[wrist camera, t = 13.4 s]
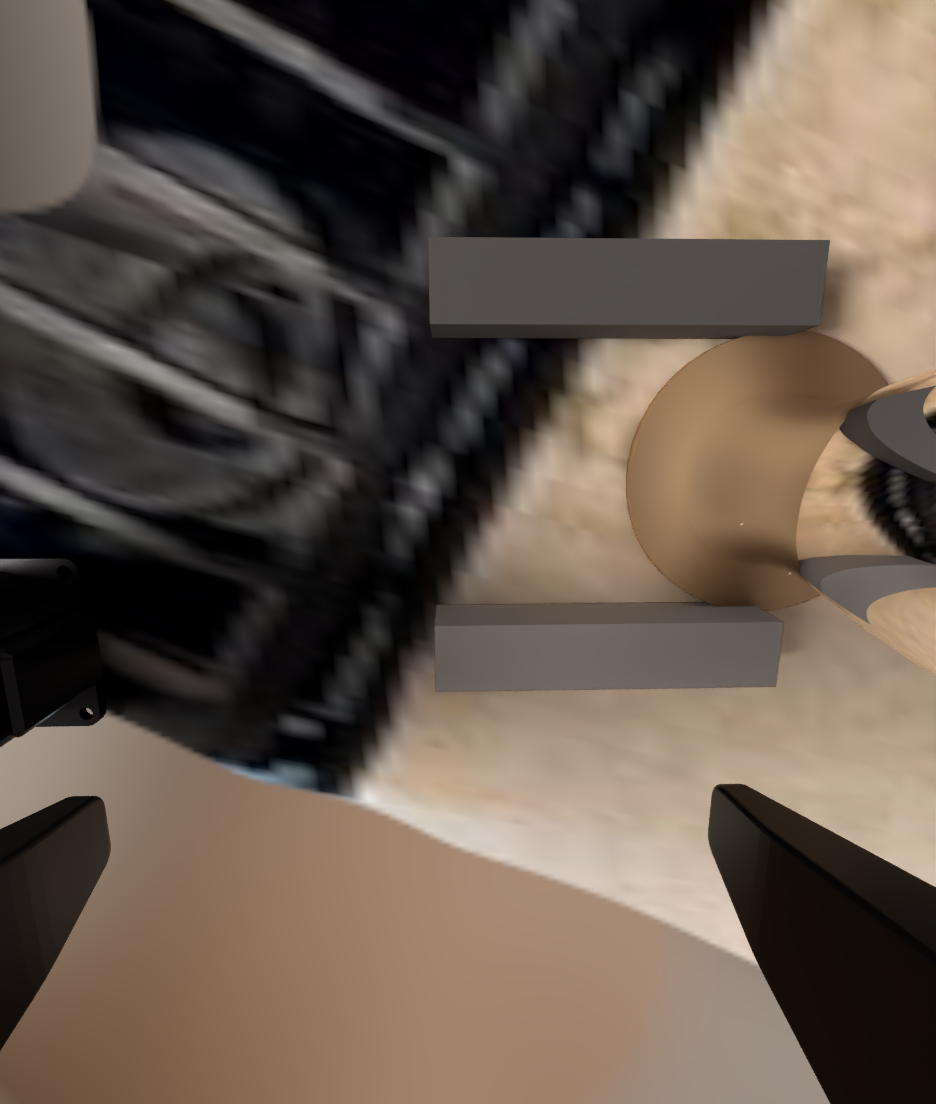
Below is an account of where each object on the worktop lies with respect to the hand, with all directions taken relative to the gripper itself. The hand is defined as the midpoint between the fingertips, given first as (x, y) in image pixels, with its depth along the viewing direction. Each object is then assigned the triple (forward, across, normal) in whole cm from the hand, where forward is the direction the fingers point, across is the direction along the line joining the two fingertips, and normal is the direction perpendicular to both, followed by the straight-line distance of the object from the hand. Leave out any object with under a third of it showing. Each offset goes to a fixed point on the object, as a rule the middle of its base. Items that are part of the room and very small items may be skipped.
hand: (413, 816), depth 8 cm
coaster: (+13, -12, -4) cm, 18 cm away
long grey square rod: (+13, -6, -10) cm, 17 cm away
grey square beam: (+13, -6, +2) cm, 14 cm away
